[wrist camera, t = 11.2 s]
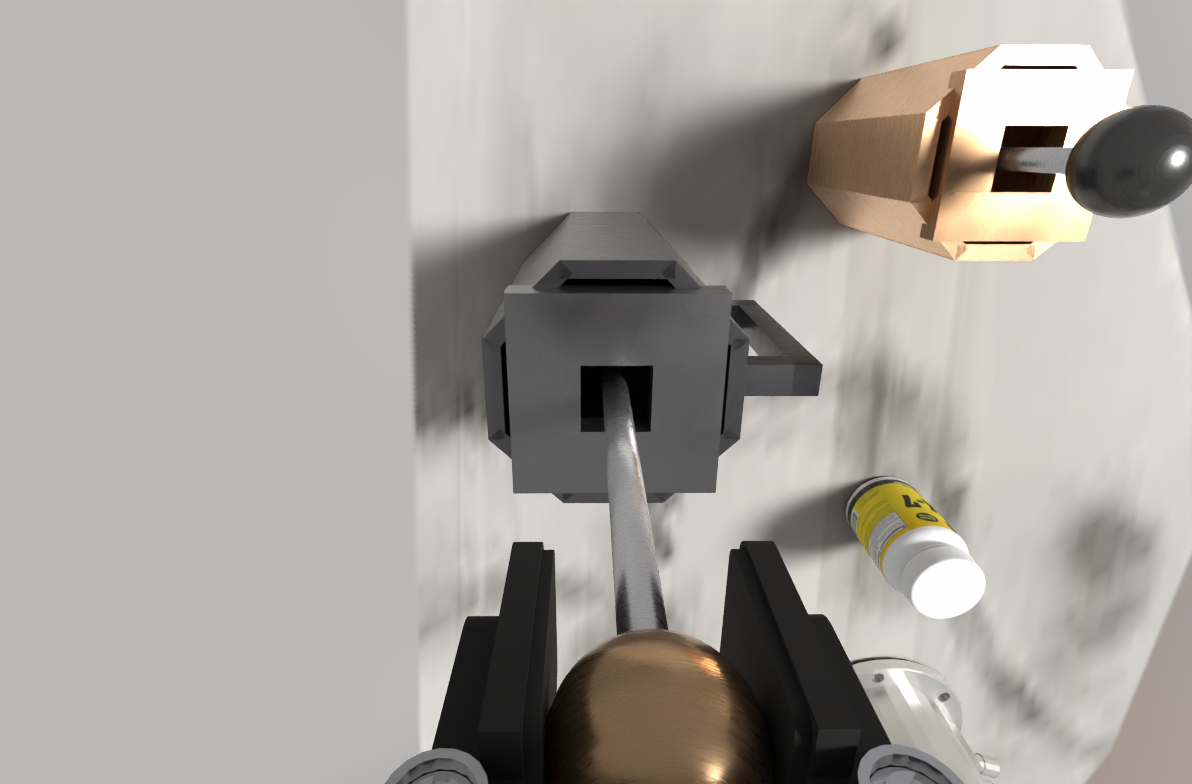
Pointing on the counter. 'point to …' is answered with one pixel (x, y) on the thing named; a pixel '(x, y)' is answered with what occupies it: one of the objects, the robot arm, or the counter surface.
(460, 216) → the counter surface
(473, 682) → the robot arm
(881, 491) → the supplement bottle
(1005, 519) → the counter surface
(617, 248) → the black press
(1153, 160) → the grey ball handle
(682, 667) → the plunger rod
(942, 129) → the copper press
